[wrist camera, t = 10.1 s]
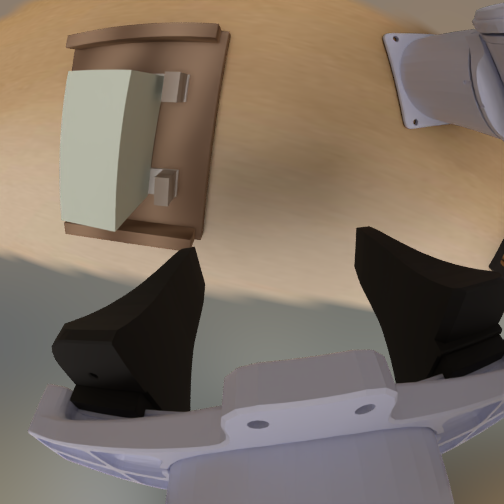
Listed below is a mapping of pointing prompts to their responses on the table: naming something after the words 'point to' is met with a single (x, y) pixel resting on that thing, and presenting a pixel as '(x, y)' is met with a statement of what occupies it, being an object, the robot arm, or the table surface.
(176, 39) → the brown wooden holder
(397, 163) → the table surface
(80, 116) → the tapered sage green block
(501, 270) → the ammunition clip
